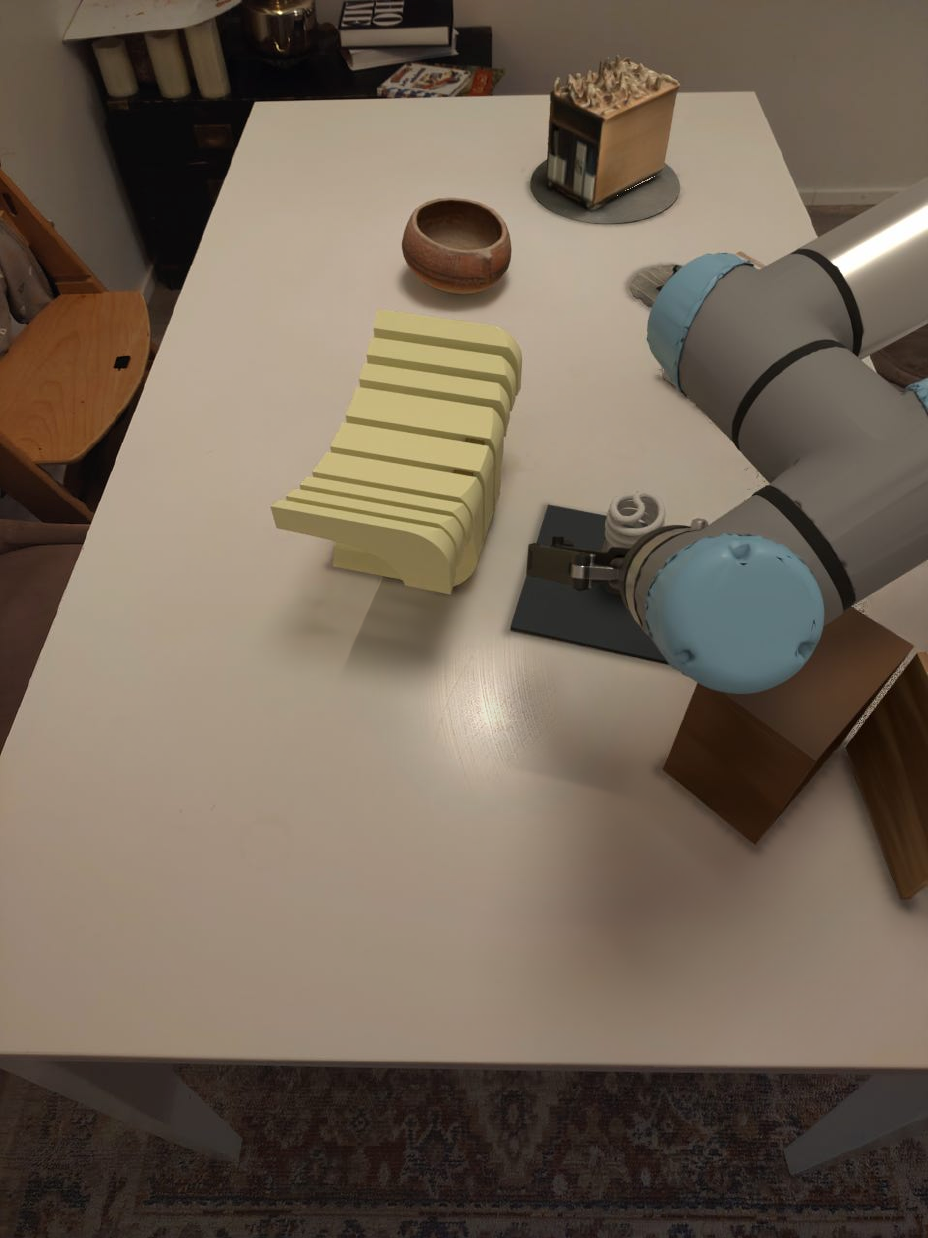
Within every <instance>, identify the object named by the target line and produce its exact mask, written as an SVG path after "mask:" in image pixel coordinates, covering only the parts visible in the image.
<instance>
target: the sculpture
mask: <svg viewBox="0 0 928 1238" xmlns="http://www.w3.org/2000/svg"><path fill="white" fill-rule="evenodd" d="M682 267H683V266H682V265H681V264H670V265H657V266H654V267H649V268H646V269H643V270H642V271H639V272H638V273H637V274H636V275H635V276H634V277H633V278H632V280H631V281H630V285H629V289H630V291H631V293H632V296H634V297H635V298H636V299H641V300H642V302H643V303H644V304H645V305H646V306H648V307H649V308H652V306H653V304H654V301H655V299H656V297H657V296H658V294H659V292H660V291H661V289H662V288H663V286H664V285H665V284H666V283H667V281H668V280H669V279H670V278H671V277H672V276H673V275H674V274H675V273H676V272H677V271H678V270H679V269H680V268H682Z"/></svg>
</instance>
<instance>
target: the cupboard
mask: <svg viewBox="0 0 928 1238" xmlns="http://www.w3.org/2000/svg"><path fill="white" fill-rule="evenodd" d="M914 648H915V645H914V644H912V643H911V642H909V641H908V640H906V639H904V638H903V637H901V636H899V635H898V634H897V633H895V632H893V631H892V630H890V629H888V628H887V627H886V626H884V625H882V624H880V623H879V622H877V621H876V620H874V619H872V618H871V617H870V616H868V615H866V614H864V613H863V612H861V611H860V610H858V609H857V608H855V607H854V606H851V607H849V608H848V609H846V610H845V611H843V613H842V614H841V615H840V616H839V617H837V618H836V619H834V620H833V621H831V622H830V623H828V624H827V625H825V626H823V630H822V634H821V637H820V640H819V642H818V644H817V645H816V647H815V649H814V651H813V653H812V655H811V656H810V658H809V659H808V661H807V662H806V663H805V664H804V666H803V667H802V668H801V669H800V670H799V671H798V672H797V673H796V674H795V675H793V676H792V677H791V678H789V679H788V680H786V681H785V682H783V683H781V684H779V685H777V686H775V687H773V688H770V689H767V690H764V691H761V692H756V693H749V694H733V693H726V692H721V691H716V690H713V689H710V688H707V687H705V686H703V685H701V684H699V683H697V682H696V686H695V688H694V690H693V692H692V695H691V697H690V700H689V702H688V705H687V707H686V710H685V712H684V714H683V718H682V720H681V722H680V724H679V727H678V729H677V732H676V735H675V737H674V740H673V742H672V745H671V747H670V750H669V751H668V752H669V753H668V755H667V757H666V760H665V762H664V764H663V766H662V771H663V772H664V773H665V774H667V776H669V777H670V778H671V779H673V780H674V781H676V782H677V783H678V784H679V785H680V786H681V787H683V788H684V789H686V791H688V792H689V793H690V794H691V795H692V796H694V797H695V798H696V799H698V800H699V801H700V802H701V803H703V804H704V805H705V806H706V807H707V808H709V809H710V810H711V811H712V812H713V813H715V814H716V815H717V816H718V817H719V818H721V819H722V820H723V821H725V822H726V823H727V824H728V825H729V826H731V827H732V828H733V829H735V830H736V831H737V832H738V833H739V834H740V835H742V836H743V837H744V838H745V839H747V840H748V841H749V842H751V843H752V844H753V845H754V846H756V845H757V844H758V843H759V842H760V841H761V839H762V838H763V837H764V835H766V833H767V832H768V831H769V830H770V829H771V828H772V826H773V825H774V824H775V823H776V822H777V820H778V819H779V818H780V817H781V816H782V815H783V813H784V812H785V811H786V810H787V809H788V807H789V806H790V805H791V804H792V803H793V802H794V800H795V799H796V798H797V797H798V796H799V795H800V793H801V792H802V791H803V790H804V788H805V787H806V786H807V785H809V783H810V782H811V781H812V779H813V778H814V777H815V776H816V774H817V773H819V771H820V770H821V768H822V767H823V766H824V765H825V764H826V763H827V762H828V760H829V759H830V758H831V757H832V756H833V755H834V754H835V752H836V751H837V749H839V747H840V746H841V745H842V744H843V743H844V741H845V740H846V739H847V737H848V736H849V734H850V733H851V732H852V731H853V729H854V728H855V727H856V725H857V724H858V723H859V721H860V719H861V718H862V717H863V716H864V714H865V713H866V712H867V710H868V709H869V708H870V706H872V704H873V703H874V701H875V700H876V698H877V697H878V696H879V695H880V693H881V692H882V691H883V689H884V688H885V687H886V686H887V684H888V682H889V681H890V680H891V678H892V677H893V676H894V675H895V673H896V672H897V670H898V669H899V668H900V667H901V665H902V664H903V662H904V661H905V660H906V658H907V657H908V656H909V654H910V653H911V652H912V650H913V649H914Z"/></svg>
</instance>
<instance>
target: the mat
mask: <svg viewBox="0 0 928 1238" xmlns="http://www.w3.org/2000/svg"><path fill="white" fill-rule="evenodd" d="M606 519H607V514H606V515H605V514H601V513H596V512H595V513H594V512H589V511H585V510H579V509H575V508H569V507H563V506H559V505H553V504H547V507H546V510H545V514H544V517H543V521H542V524H541V527H540V530H539V532H538V536H537V540H536V543H539V544H540V545H544V546H549V547H550V545H551V536H562V537H564V540H570V541H571V542H572V543H573V544H574V547H575V548H583V549H590V550H598V551H602V548H603V545H604V542H605V540H606V536H605V529H606V528H605V522H606ZM639 522H640V523H641V525H642V527H643V528H644V527H647V526H648V525H647V524H646V523H645V522H644V521H639ZM622 526H624V527H627V528H634V527H632V526H628V525H622ZM634 529H635V528H634ZM509 630H510V631H513V632H516V633H522V634H525V635H530V636H536V637H540V638H544V639H548V640H554V641H558V642H563V643H567V644H572V645H576V646H581V647H585V648H589V649H590V648H591V649H595V650H598V651H603V652H608V653H613V654H615V655H616V654H617V655H621V656H625V657H631V658H635V659H640V660H643V661H648V662H654V663H656V664H657V663H658V664H663V665H666V666H671V665H670V664H669V663H668V662H667V660H666V659H665V658H664V656H663V655H662V654H661V652H660V651H659V650H658V648H657V647H656V645H655V644H654V643H653V641H652V640H651V638H650V637H649V636H648V635H647V634H646V633H645V632H644V630H643V629H642V628H641V627H640V626H639V624H638V623H637V622H636V621H635V620H634V618H633V617H632V615H631V614H630V613H629V611H628V610H627V608H626V606H625V604H624V602H623V600H622V597H621V595H619V594H614V593H609V592H607V591H606V589H605V586H604V585H601V584H596V583H593V588H588V589H587V590H583V591H577V590H576V589H573V588H571V587H570V586H568V585H565V584H561V583H557V582H554V581H550V580H546V579H542V578H538V577H531V576H530V575H527V574H525V578H524V582H523V585H522V588H521V592H520V595H519V598H518V600H517V604H516V608H515V611H514V614H513V617H512V620H511V624H510V626H509Z"/></svg>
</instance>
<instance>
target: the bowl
mask: <svg viewBox="0 0 928 1238" xmlns="http://www.w3.org/2000/svg"><path fill="white" fill-rule="evenodd" d="M508 228H509V227H508V225H507V223H506V222H505V220H504V219H503V217H502V216H501V215H500V214H499V213H498V212H497V210H495V209H494V208H492V207H490V206H488V205H487V204H484V203H482V202H479V201H477V200H472V199H468V198H462V197H461V198H460V197H441V198H440V197H437V198H434V199H430V200H428V201H425V202H423V203H422V204H420V205H419V206H417V207H416V208H415V209H414V210H413V212H412V213H411V214H410V216H409V219H408V220H407V223H406V226H405V228H404V231H403V236H402V239H401V250H402V255H403V258H404V260H405V263H406V265H407V267H408V268H409V269H410V270H411V271H412V273H413V274H414V275H416V276H417V277H418V278H419V279H420V280H421V281H422V282H423V283H425V284H428V285H429V286H431V287H433V288H434V289H437V290H440V291H443V292H447V293H452V294H460V295H461V294H464V295H465V294H474V293H478V292H481V291H484V290H487V289H489V288H491V287H492V286H493V285H495V284H496V283H498V282H499V281H500V280H501V279H502V278H503V276H504V275H505V273H506V272H507V271H508V269H509V267H510V264H511V262H512V261H511V259H512V250H513V249H512V241H511V235H510V232H509V229H508Z"/></svg>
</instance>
